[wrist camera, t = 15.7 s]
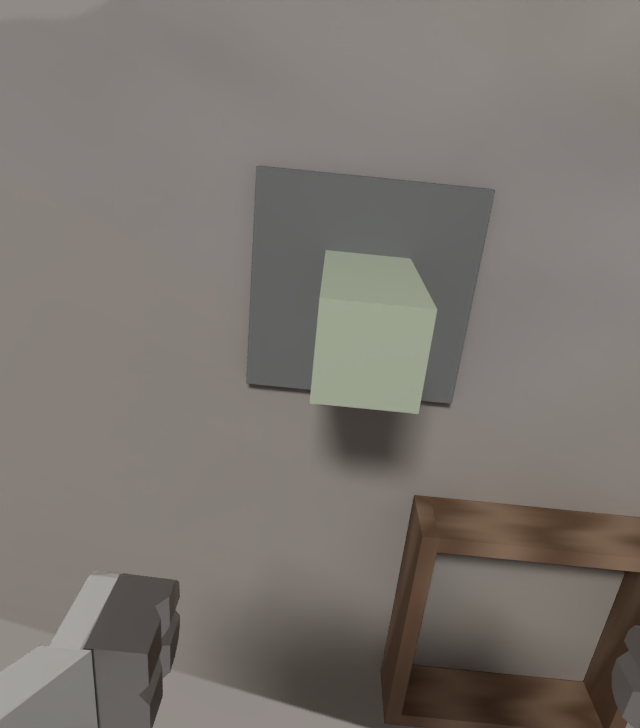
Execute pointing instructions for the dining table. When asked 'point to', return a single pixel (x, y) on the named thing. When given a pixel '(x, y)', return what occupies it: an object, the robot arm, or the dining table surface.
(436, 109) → the dining table surface
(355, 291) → the green block
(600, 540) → the walnut crate
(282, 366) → the rubber mat
